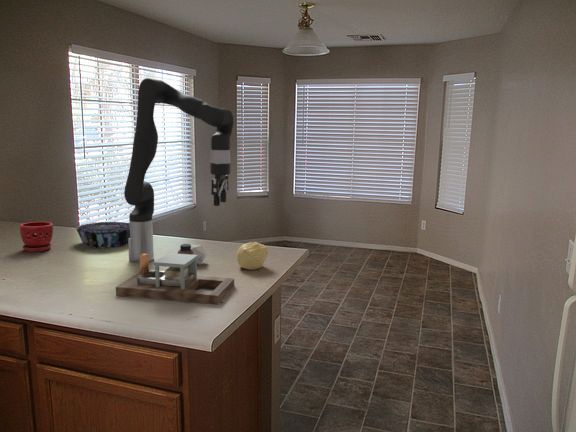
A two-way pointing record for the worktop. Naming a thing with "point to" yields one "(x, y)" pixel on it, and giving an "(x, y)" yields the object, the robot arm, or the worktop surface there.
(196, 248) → the die
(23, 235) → the plant pot
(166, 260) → the tunnel
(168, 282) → the slider
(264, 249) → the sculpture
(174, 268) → the block
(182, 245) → the supplement bottle
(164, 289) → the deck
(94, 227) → the decorative bowl
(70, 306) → the worktop surface
